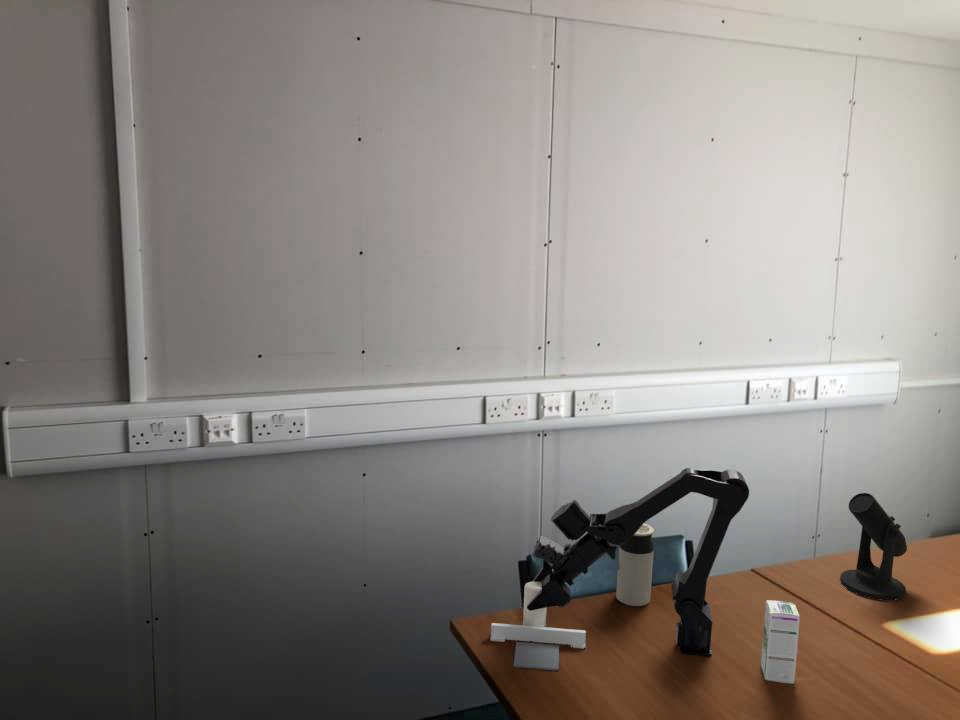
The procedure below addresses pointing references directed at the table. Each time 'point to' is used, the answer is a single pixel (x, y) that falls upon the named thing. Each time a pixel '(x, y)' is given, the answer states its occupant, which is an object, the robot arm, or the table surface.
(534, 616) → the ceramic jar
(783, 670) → the syrup box
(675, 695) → the table surface
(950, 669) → the table surface
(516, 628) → the light grey long bar
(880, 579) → the microphone
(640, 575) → the travel mug
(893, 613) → the table surface
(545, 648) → the slate mat
